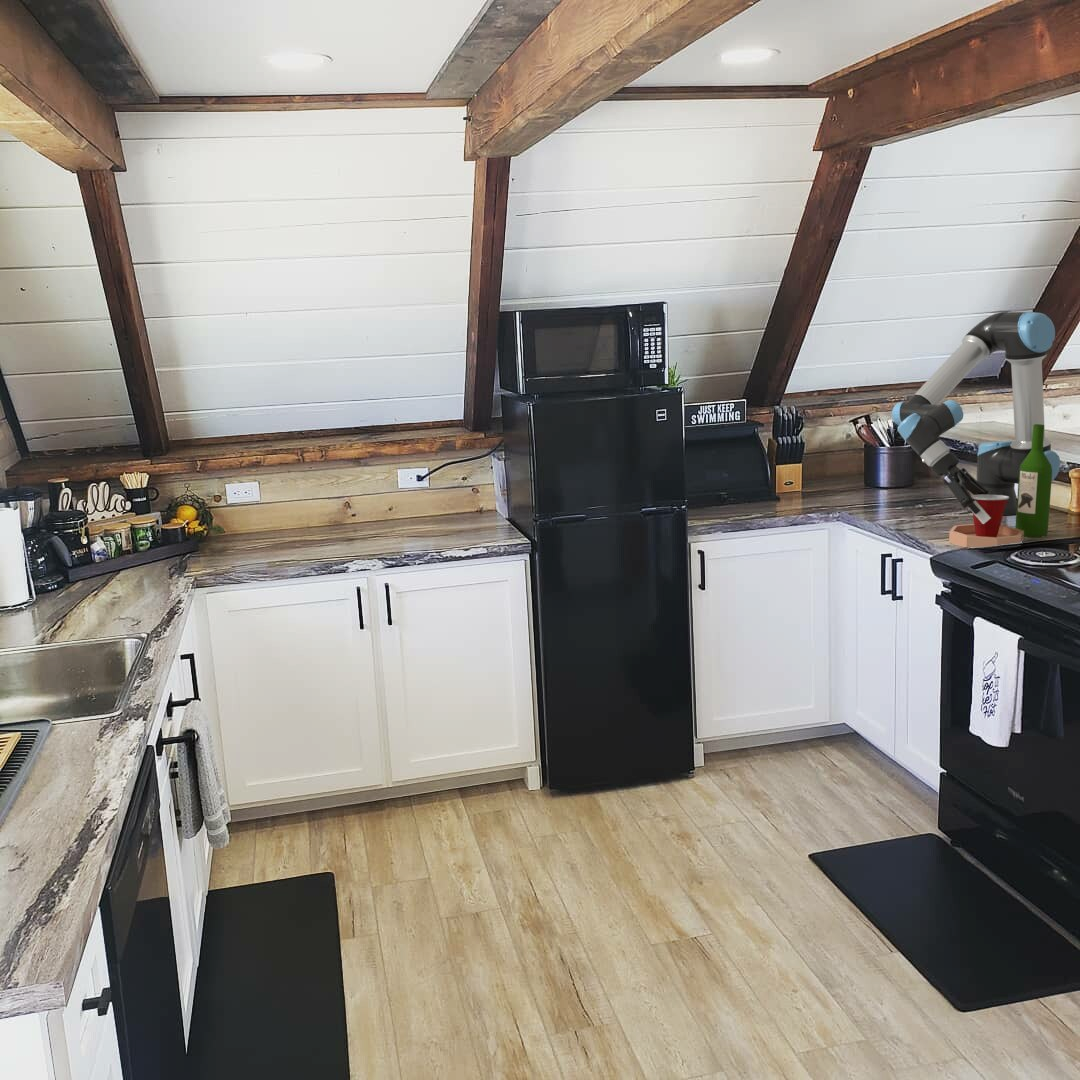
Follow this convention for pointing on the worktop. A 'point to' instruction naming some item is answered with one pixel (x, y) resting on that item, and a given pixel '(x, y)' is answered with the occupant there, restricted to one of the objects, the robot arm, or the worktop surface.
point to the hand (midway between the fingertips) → (992, 518)
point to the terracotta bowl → (968, 538)
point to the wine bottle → (1034, 489)
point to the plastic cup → (994, 509)
